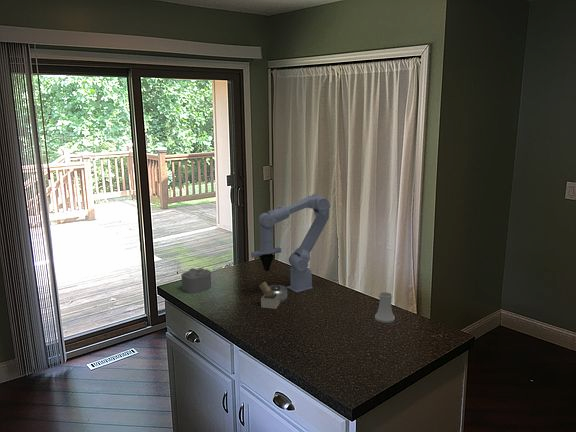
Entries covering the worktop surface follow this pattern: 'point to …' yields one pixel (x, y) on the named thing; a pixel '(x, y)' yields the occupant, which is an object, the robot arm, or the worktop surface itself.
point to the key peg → (266, 290)
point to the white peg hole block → (279, 294)
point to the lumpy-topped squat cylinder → (196, 280)
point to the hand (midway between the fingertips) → (266, 270)
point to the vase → (385, 308)
